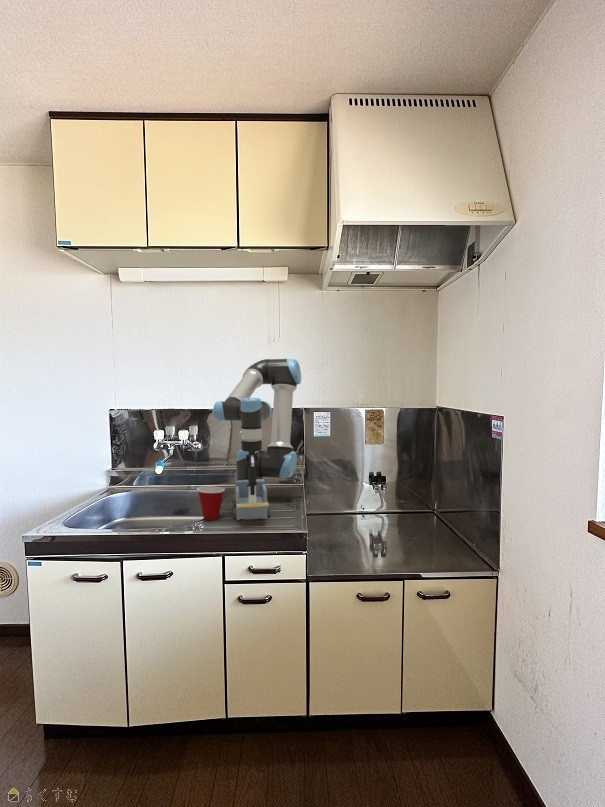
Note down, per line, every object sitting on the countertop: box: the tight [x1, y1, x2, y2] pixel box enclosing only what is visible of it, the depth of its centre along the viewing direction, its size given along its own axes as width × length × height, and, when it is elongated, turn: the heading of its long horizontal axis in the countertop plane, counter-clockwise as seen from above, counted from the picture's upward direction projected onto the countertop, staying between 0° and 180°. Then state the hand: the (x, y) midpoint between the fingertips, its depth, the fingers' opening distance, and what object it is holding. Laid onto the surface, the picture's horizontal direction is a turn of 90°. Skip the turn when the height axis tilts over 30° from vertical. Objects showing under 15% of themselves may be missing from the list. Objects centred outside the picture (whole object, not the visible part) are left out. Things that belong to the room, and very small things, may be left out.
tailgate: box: [237, 502, 270, 508], centre depth 178 cm, size 2×12×9 cm
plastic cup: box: [196, 485, 226, 521], centre depth 185 cm, size 11×11×12 cm
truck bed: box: [232, 478, 271, 521], centre depth 190 cm, size 14×14×12 cm
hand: (252, 502), depth 175 cm, fingers closed
